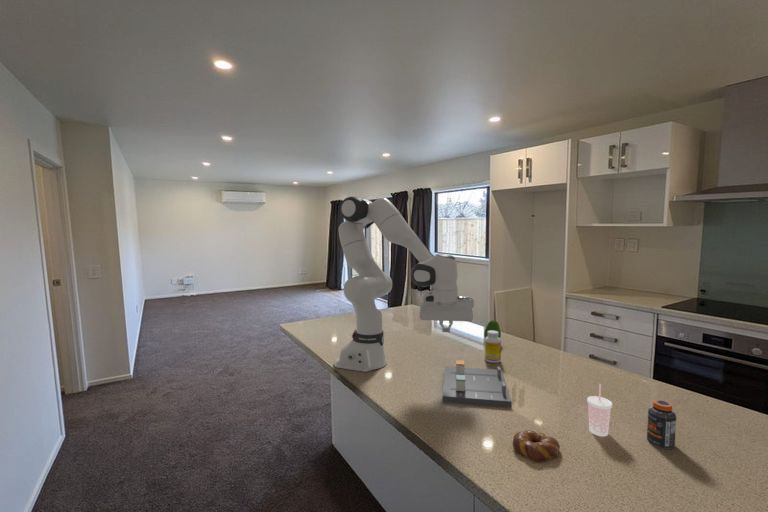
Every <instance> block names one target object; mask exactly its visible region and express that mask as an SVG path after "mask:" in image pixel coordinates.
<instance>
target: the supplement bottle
mask: <svg viewBox="0 0 768 512" xmlns="http://www.w3.org/2000/svg"><path fill="white" fill-rule="evenodd" d="M487 334H488V336H487V337H486V338H485V337H484V361H486V362H487V363H491V364H499V363H500V362H501V360H502V359H501V358H502V355H501V354H502V353H501V350H502V348H501V346H502V339H501V337H500V338H499V337H498V335H499V332H498V331H494V330H490V331H487Z"/></svg>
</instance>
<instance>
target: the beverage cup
mask: <svg viewBox="0 0 768 512" xmlns="http://www.w3.org/2000/svg"><path fill="white" fill-rule="evenodd" d="M601 393H602V383H598V396H597V395H591V396H587V398H586V399H587V400H586V403H587V406H588V407H587V408H588V411H587V412H588V431H589V432H590V433H591V434H593V435H596V436H598V437H607V436H608V435H609V427H610V419H611V412H612V411H611V410H612V408H613V402H612V401H611V400H609V399H608V398H605V397H603V396H602V394H601Z"/></svg>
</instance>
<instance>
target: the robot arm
mask: <svg viewBox="0 0 768 512" xmlns="http://www.w3.org/2000/svg"><path fill="white" fill-rule="evenodd" d="M339 213H340V216H341V217H342V218H343V219H344V220H345V221H343V222H341V224H339V226H338V237H339V242H340V246H341V248H342V252H343V255H344V258H345V260H346V264H347V266H348V267H349V268H351V269H353V270H354V271H355V272H356V273H357V274H358V275H355V276H353V277H351V278H349V279H347V280H346V281H345V283H344V285H343V295H344V297H345V298H346V300H348V301H349V302H350V303H351V304H352V306H353V309H354V312H355V318H356V319H355V320H356V328H355V329H354V330H353V332H352V334H351V338H352V339H351V340H350V341H348V343H346V344H345V345H344V346H342V349H340V353H339V356H338V357H337V358H336V359H335V360H334V364H333V365H334V367H335V368H339V369H344V370H350V371H357V372H364V373H366V372H367V373H368V372H370V371H373V370H377V369H382V368H383V367H385V366H386V365H387V363H388V362H387V358H386V355H385V350H384V349H385V348H384V343H385V335H384V330H383V313H382V311H381V310H380V309H378V308H377V306H376V302H375V299H378V298H379V299H380V298H381V297H385V296H386V295H387V294H389V293H390V292H391V291H392V289H393V280H392V278H391V277H390V275H389V274H388V273H386V272H385V271H384V270H382V269H381V267H380V266H379V264H378V263H377V262H376V260H375V258H374V257H373V254H372V252H371V248H370V247H369V245H368V241H367V238H366V236H365V235H366V234H365V233H364V230H365V229H369V228H370V227H371V226H372V225H373V224H375V226H376V228H377V229H378V230H379V232H380V233H381V235H382V237H384V239H386V240H387V241H388V242H390V243H391V244H396V245H398V246H401V247H404V248H405V249H407V250H409V252H411V254H412V255H413V256H414V257H415V258H416V260H417V261H418V263H416V264H415V265H413V266H412V268H411V269H410V279H411V281H412V283H413V284H414V285H415V286H417V287H422V288H425V287H428V286H433V289H434V290H432V291H429V292H426V293H424V294H423V295H422V302H421V303H420V308H419V319H420V320H421V321H437V322H438V321H439V322H438V323H439V325H440V327H441V329H442V330H441V331H442V333H451V328H452V326H453V324H454V322H472V321H473V320H474V314H473V313H474V311H473V308H474V306H475V301H474V299H473V298H472V297H470V296H461V295H460V296H459V295H458V284H457V282H458V281H457V280H458V265H457V259H456V258H455V256H453V255H452V254H448V253H436V254H435V255H434V254H433V253H432V252H431V251H430V250H429V248H428V247H427V246H426V245H425V243H424V242H423V241H422V240H421V238H420V237H419V236H418V234H416V232H415V231H414V230H413V229H412V228H411V226H410V225H409V224H408V222H407V221H406V219H405V218H404V217H403V215H402V213H401V212H400V211H399V209H397V207H396V206H395V205H394V204H393V202H391V201H390V200H389V199H388V198H385V197H380V198H377V199H375V200H374V201H372V200H369V199H367V198H364V197H358V196H348V197H345V198H344V199H343V200H342V202H341V203H340V206H339ZM444 321H445V322H448V324H449V325H448V326H444Z"/></svg>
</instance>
